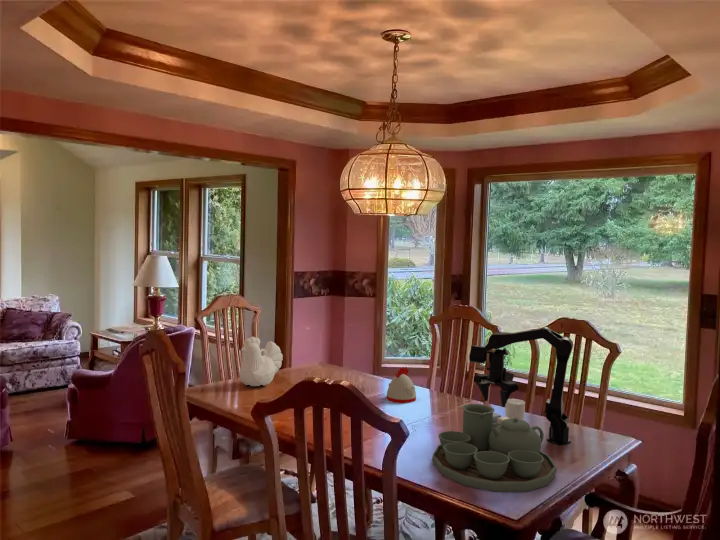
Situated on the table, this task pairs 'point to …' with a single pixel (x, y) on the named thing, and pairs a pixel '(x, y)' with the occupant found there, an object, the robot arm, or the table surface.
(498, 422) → the white key
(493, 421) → the slate blue key
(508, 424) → the tea set
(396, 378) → the chicken tea cozy
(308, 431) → the table surface
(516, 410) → the white cup
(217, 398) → the table surface
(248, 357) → the decorative rooster
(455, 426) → the table surface
